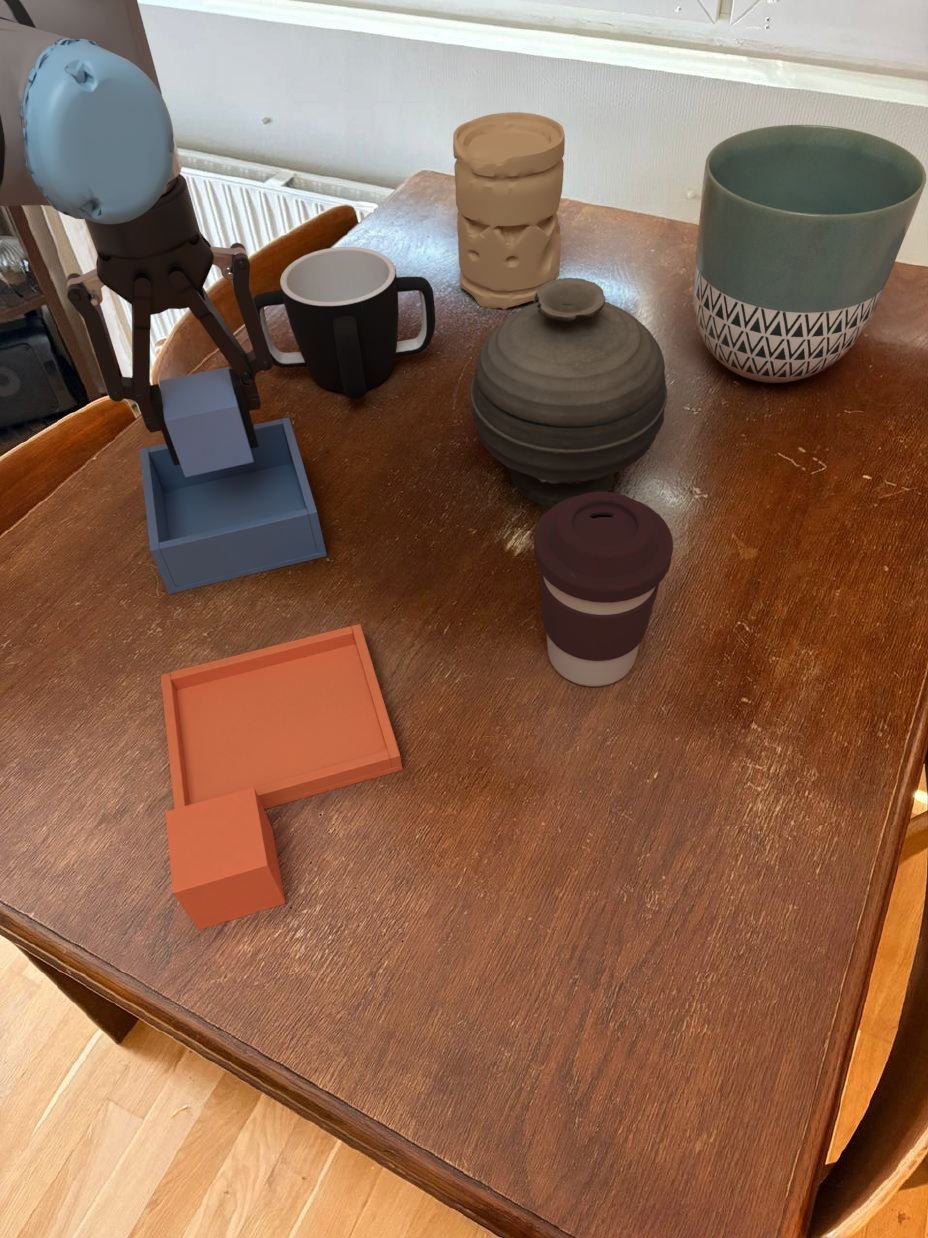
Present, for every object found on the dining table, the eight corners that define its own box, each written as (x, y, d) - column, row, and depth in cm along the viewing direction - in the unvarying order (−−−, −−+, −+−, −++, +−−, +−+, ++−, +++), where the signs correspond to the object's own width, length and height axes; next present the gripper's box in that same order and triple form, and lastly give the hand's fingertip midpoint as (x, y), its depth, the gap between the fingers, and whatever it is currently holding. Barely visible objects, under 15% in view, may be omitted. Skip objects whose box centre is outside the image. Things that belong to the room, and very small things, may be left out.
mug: (452, 367, 102) (447, 268, 93) (348, 434, 95) (330, 333, 86) (357, 318, 110) (343, 222, 101) (254, 376, 103) (228, 278, 94)
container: (513, 321, 108) (513, 167, 94) (439, 287, 114) (429, 138, 100) (579, 280, 114) (588, 129, 100) (505, 250, 120) (504, 103, 106)
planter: (860, 429, 92) (933, 223, 76) (665, 406, 96) (695, 206, 80) (857, 326, 104) (920, 130, 88) (685, 309, 108) (714, 118, 92)
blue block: (185, 477, 78) (164, 420, 73) (179, 436, 81) (159, 380, 77) (253, 462, 79) (237, 405, 74) (244, 422, 82) (228, 366, 78)
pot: (541, 565, 80) (539, 361, 66) (443, 471, 92) (425, 280, 78) (696, 496, 86) (724, 294, 72) (586, 416, 98) (592, 229, 84)
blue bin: (169, 594, 81) (149, 550, 77) (156, 493, 90) (139, 449, 86) (327, 556, 83) (317, 511, 79) (299, 461, 93) (289, 416, 88)
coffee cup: (620, 722, 70) (640, 592, 59) (509, 671, 74) (508, 541, 62) (670, 636, 75) (698, 503, 64) (565, 593, 79) (574, 460, 68)
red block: (198, 930, 60) (172, 893, 56) (189, 852, 64) (164, 811, 60) (285, 903, 61) (267, 865, 57) (272, 828, 65) (254, 786, 61)
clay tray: (183, 832, 65) (174, 819, 64) (167, 689, 74) (160, 674, 72) (403, 770, 68) (400, 755, 66) (363, 639, 77) (360, 623, 75)
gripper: (257, 139, 66) (311, 400, 84) (-10, 183, 63) (105, 445, 81) (273, 180, 61) (327, 448, 79) (-15, 231, 58) (108, 498, 76)
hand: (214, 446), depth 80 cm, fingers closed on blue block, 6 cm apart
